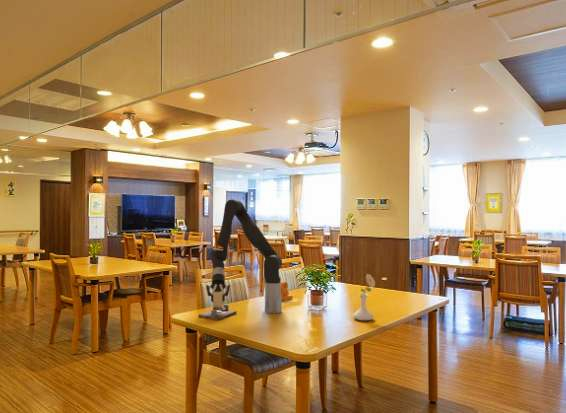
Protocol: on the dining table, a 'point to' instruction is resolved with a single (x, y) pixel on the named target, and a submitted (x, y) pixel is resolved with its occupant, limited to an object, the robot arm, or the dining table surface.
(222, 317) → the coupling base
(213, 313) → the driven shaft
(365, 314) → the flower in vase
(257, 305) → the dining table surface
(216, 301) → the coupler
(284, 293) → the bracket
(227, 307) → the drive shaft
